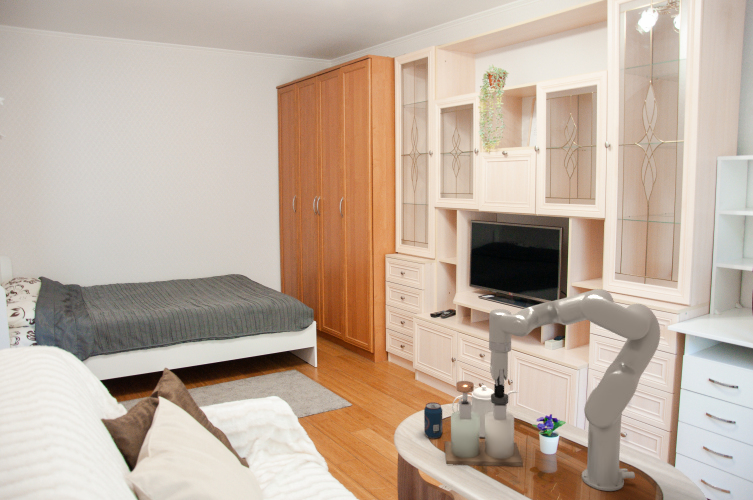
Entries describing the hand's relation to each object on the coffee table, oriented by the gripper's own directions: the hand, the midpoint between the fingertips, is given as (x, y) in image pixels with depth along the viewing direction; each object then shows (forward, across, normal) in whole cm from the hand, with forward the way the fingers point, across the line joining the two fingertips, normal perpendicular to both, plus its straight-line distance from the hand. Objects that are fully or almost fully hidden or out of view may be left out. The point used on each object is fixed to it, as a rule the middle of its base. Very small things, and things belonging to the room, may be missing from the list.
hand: (499, 395), depth 195 cm
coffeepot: (+23, -18, -3) cm, 29 cm away
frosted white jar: (+21, 0, 0) cm, 21 cm away
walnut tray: (+22, 0, -6) cm, 23 cm away
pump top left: (+8, 0, 0) cm, 8 cm away
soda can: (+23, -15, -23) cm, 35 cm away
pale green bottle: (+21, 0, -12) cm, 24 cm away
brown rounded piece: (+4, 0, -12) cm, 12 cm away
